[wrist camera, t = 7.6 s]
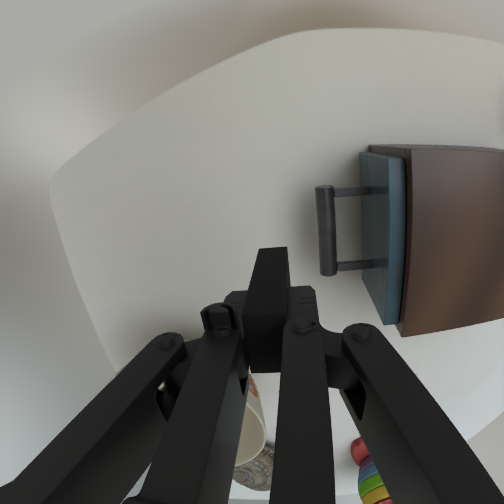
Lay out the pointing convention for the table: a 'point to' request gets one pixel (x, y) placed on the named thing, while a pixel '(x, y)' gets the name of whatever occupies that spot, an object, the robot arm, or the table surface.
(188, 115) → the table surface
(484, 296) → the cabinet
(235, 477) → the fossilized seashell
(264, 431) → the bowl
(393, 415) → the robot arm
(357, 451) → the stacking bear
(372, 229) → the drawer
